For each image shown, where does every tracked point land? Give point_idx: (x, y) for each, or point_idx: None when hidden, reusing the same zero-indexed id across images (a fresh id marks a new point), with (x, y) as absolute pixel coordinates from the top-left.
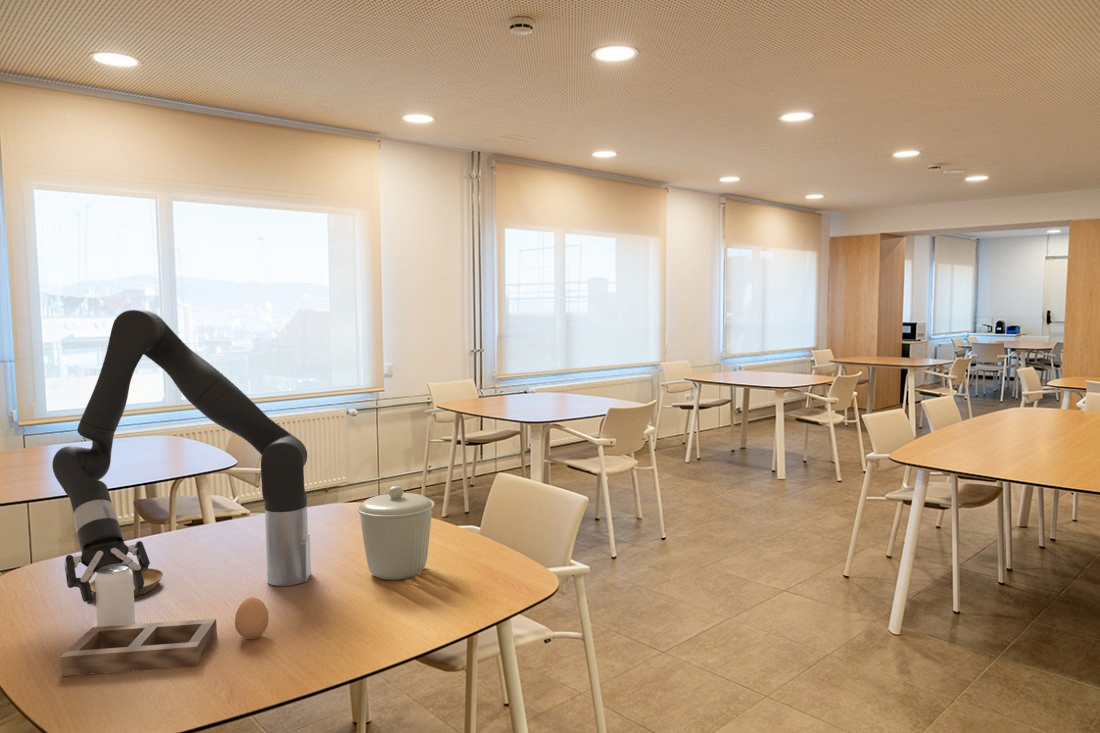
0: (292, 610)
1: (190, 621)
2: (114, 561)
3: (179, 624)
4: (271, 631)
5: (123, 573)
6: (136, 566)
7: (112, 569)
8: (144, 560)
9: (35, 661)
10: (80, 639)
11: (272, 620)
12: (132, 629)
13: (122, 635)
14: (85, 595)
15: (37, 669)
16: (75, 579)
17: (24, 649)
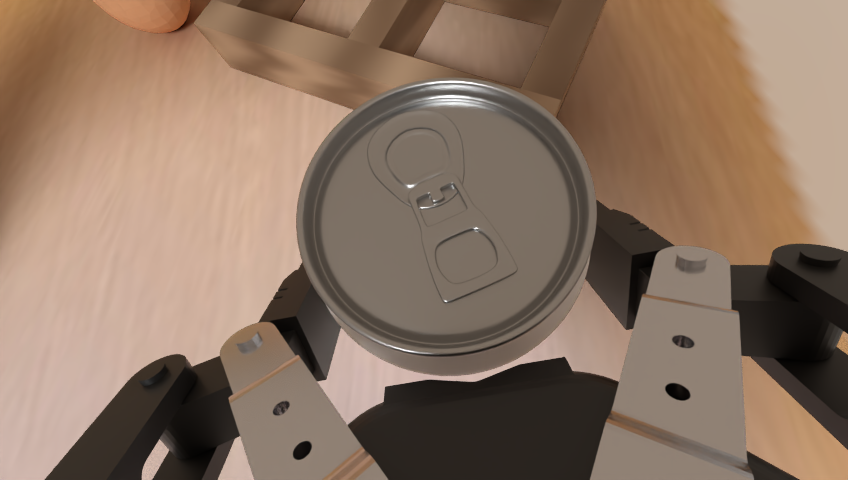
0: (24, 132)
1: (255, 34)
2: (411, 424)
3: (287, 27)
4: (129, 38)
5: (376, 117)
6: (249, 351)
7: (449, 215)
8: (144, 402)
9: (699, 139)
10: (578, 47)
11: (92, 95)
12: (415, 60)
13: None
14: (620, 217)
15: (678, 81)
16: (780, 258)
17: None
